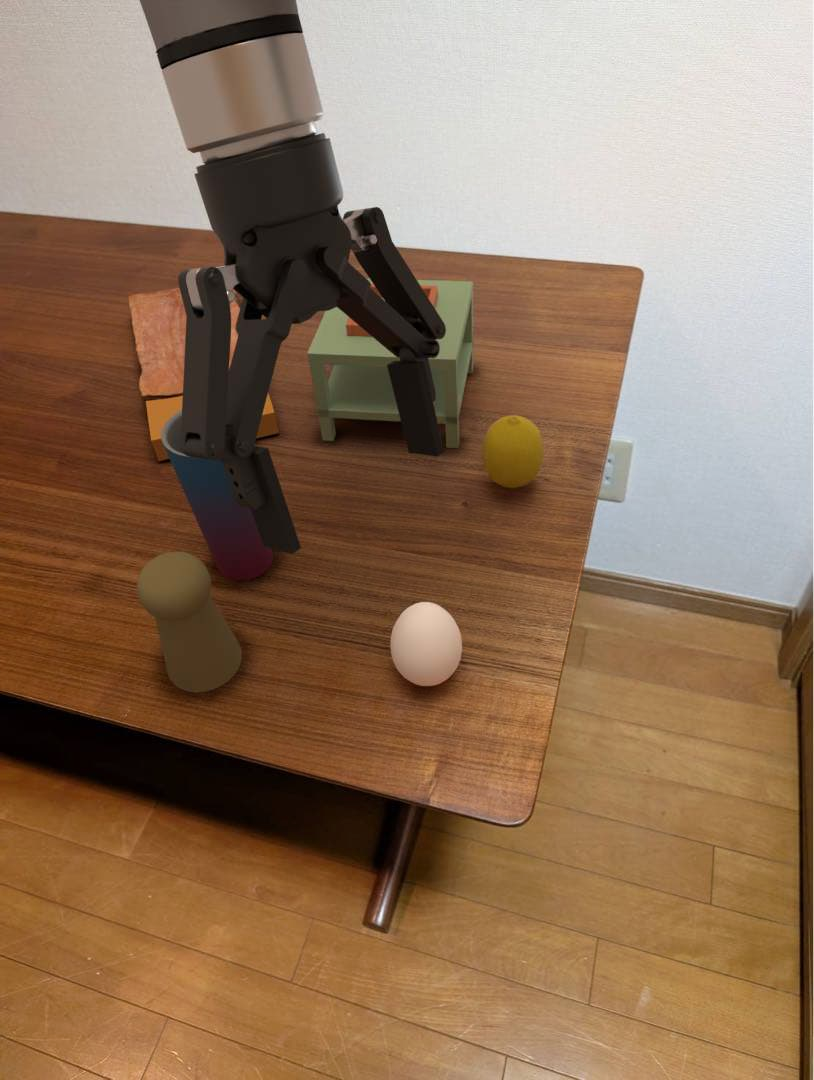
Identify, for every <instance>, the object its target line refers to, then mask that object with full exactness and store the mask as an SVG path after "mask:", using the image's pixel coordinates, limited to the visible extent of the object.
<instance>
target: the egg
mask: <svg viewBox="0 0 814 1080" xmlns="http://www.w3.org/2000/svg"><path fill="white" fill-rule="evenodd" d="M462 639H463V638H462V634H461V631H460V627H459V626H458V624H457V622H456V620H455V619H454V618H453V617H452V615H451V614H450V612H448V611H447V610H446V609H445V608H443V607H442V606H441V605H439V604H436V603H434V602H430V601H421V602H416V603H414V604H412V605H410V606H408V607H406V608H405V610H403V611H402V612H401V614H400V615H399V616H398V618H397V620H396V621H395V624H394V625H393V627H392V631H391V636H390V654H391V659H392V660H393V661H392V662H393V664H394V666H395V668H396V670H397V672H399V674H400V675H401V676H402V677H403V678H404V679H405V680H407V681H409V682H410V683H413V684H414V685H417V686H422V687H432V686H436V685H440V684H442V683H444V682H445V681H447V680H448V679H449V678H450V677H451V676H453V674H454V673H455V671H456V670H457V669H458V667H459V664H460V662H461V659H462V654H463V653H462V652H463V641H462Z"/></svg>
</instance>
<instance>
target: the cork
mask: <svg viewBox="0 0 814 1080" xmlns="http://www.w3.org/2000/svg"><path fill="white" fill-rule="evenodd" d="M211 590H212V579H211V575H210V573H209V570H208V568H207V566H206V565H205V564H204V562H203V561H202V560H201V559H200V558H199V557H197V556H195V555H193V554H191V553H188V552H185V551H170V552H165V553H163V554H162V553H161V554H159V555H157V556H156V557H154V558H152V559H150V560H149V561H148V562H147V563H146V564H145V565H144V566H143V568H142V569H141V571H140V573H139V574H138V577H137V581H136V594H137V597H138V601H139V602H140V604H141V606H142V607H143V608H144V609H145V611H146V612H147V613H149V614H150V616H152V617H154V620H155V624H156V628H157V633H158V637H159V642H160V646H161V651H162V655H163V660H164V664H165V667H166V672H167V676H168V678H169V680H170V681H171V683H172V684H173V685H174V686H175V687H176V688H178V689H180V690H182V691H184V692H188V693H193V694H194V693H195V694H197V693H206V692H207V693H208V692H210V691H213V690H215V689H218V688H220V687H222V686H224V684H227V683H228V682H229V681H230V680H231V679H233V677H234V676H235V675H236V673H238V671H239V668H240V666H241V664H242V662H243V650H242V648H241V645H240V643H239V641H238V639H237V637H236V636H235V633H233V631H232V629H231V628H230V625H229V624H228V623H227V621H226V619H225V617H224V616H223V614H222V612H221V611H220V609H219V607H218V606H217V603H216V602H215V601H214V599H213V598H212V596H211Z"/></svg>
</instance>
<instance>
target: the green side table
mask: <svg viewBox="0 0 814 1080" xmlns="http://www.w3.org/2000/svg"><path fill="white" fill-rule="evenodd" d="M366 279H367V280H368V281H369V282H370V283H371V287H370V288H371V289H372V290H373V291H374V292H375V293H376V294H377V295H379V296H380V297H381V298H382V299H383V297H382V296H381V294H380V293H379V291H378V290H377V288H376V287H375V285H374V284H373V283H372V281H371V280H370V278H366ZM416 280H417V281H418V283H419V284H420V286H421V287H422V289H423V291H424V292H425V294H426V295H427V297H428V299H429V300H430V302H431V303H432V305H433V306H434V308H435V310H436V311H437V313H438V314H439V316H440V317H441V319H442V321H443V322H444V324H445V326H446V333H445V336H444V337H443V338H442V339H436V340H437V341H438V343H439V346H440V351H439V354H438V356H437V357H436V358H428V360H429V365H430V369H431V373H432V379H433V382H434V384H433V385H434V387H435V391H436V399H435V401H433V404H434V409H435V413H436V418H437V422H438V425H445V448H446V449H458V448H459V446H460V414H461V408H462V404H463V399H464V394H465V388H466V384H467V383H466V382H467V377H468V374H471V375H472V374H473V373H474V372H473V371H474V281H470V280H467V281H466V280H437V279H436V280H435V279H434V280H432V279H416ZM383 300H384V299H383ZM384 301H385V300H384ZM306 355H307V360H308V364H309V371H310V376H311V383H312V390H313V394H314V400H315V405H316V412H317V417H318V423H319V428H320V435H321V440H322V441H327V442H334V441H335V439H336V434H337V431H336V424H335V419H346V420H348V419H349V420H364V421H365V420H366V421H381V422H382V421H384V422H385V421H386V422H400V423H401V420H400V416H399V412H398V408H397V404H396V399H395V395H394V391H393V387H392V383H391V379H390V375H389V371H388V367H387V364H389V363H391V362H393V361H400V357H396V356H395V355H394V354H392V353H391V352H390V351H389V350H388V349H386V348H385V347H384V346H383V345H382V344H380V343H379V342H378V341H377V340H376V339H375V338H373V337H372V336H371V335H370V334H369V333H367V332H366V331H365V330H364V329H363V328H361V327H360V326H359V325H358V324H357V323H355V322H354V321H353V320H352V319H351V318H350V317H348V316H347V315H346V314H345V313H344V312H342V311H341V310H340V309H339V308H338V307H335V308H333V309H331V310H329V311H324V313H323V316H322V318H321V321H320V323H319V324H318V327H317V329H316V333H315V335H314V337H313V339H312V341H311V344H310V346H309V348H308V350H307V353H306ZM326 366H333V368H332V369H331V372H330V375H329V378H328V374H327V369H326Z"/></svg>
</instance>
